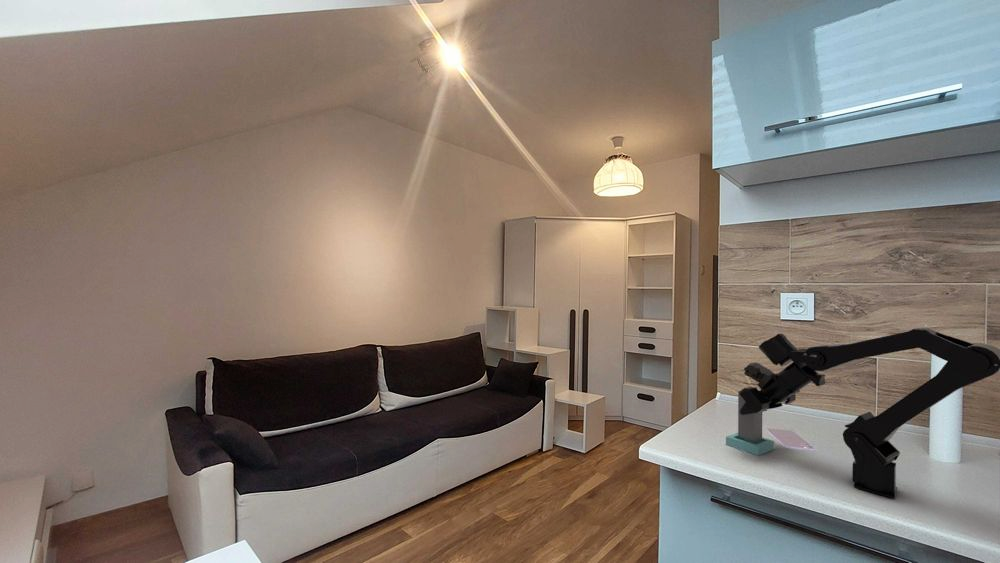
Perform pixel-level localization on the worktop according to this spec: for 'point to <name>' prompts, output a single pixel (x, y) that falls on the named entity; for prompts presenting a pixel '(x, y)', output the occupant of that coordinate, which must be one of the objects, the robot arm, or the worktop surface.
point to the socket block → (750, 444)
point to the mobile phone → (790, 439)
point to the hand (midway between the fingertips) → (745, 412)
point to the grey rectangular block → (749, 423)
